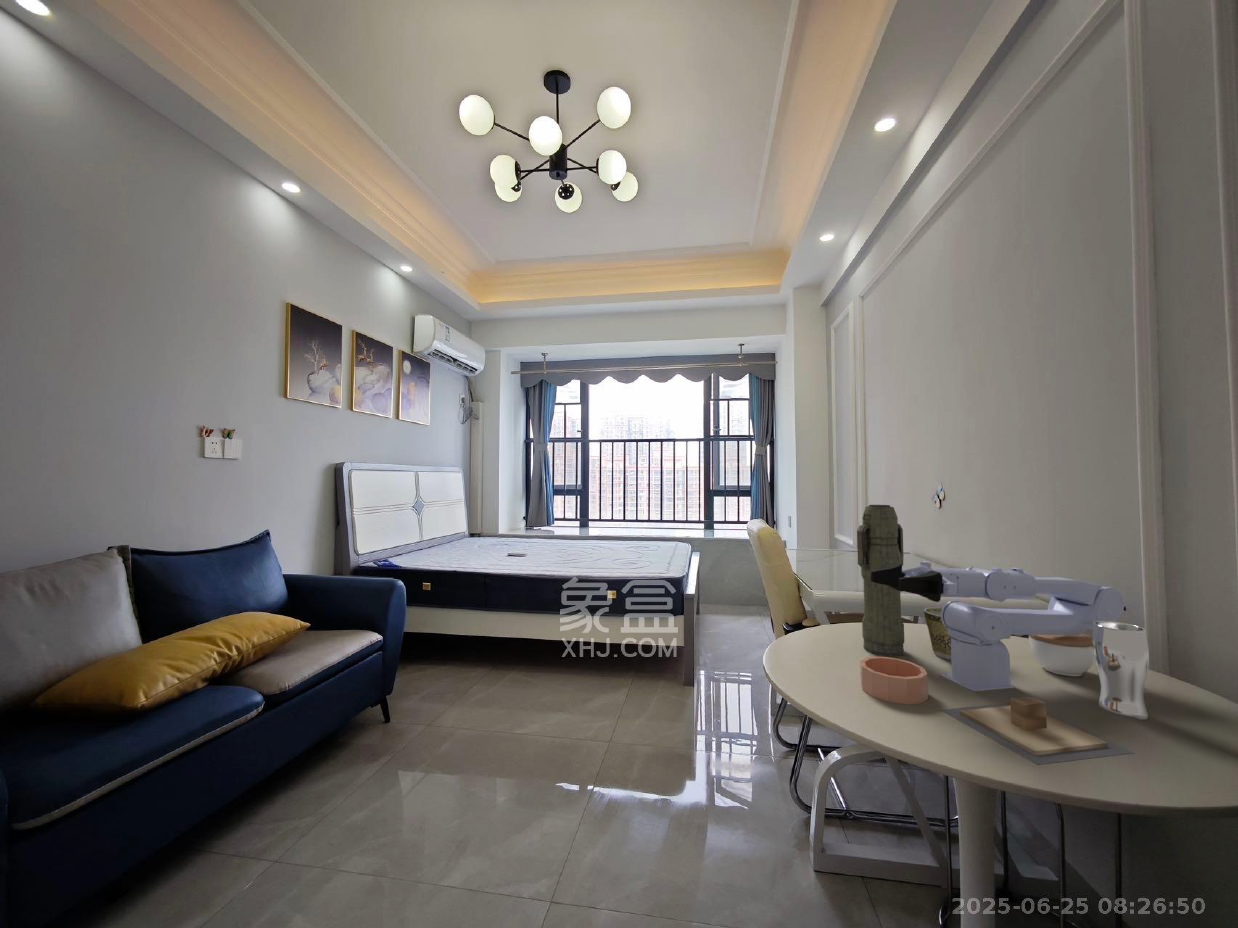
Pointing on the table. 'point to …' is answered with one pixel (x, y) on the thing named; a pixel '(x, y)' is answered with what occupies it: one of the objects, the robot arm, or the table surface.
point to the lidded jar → (1063, 653)
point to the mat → (1045, 758)
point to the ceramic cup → (938, 633)
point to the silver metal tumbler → (1121, 666)
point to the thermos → (881, 602)
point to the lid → (1032, 727)
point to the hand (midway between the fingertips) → (885, 580)
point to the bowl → (894, 680)
